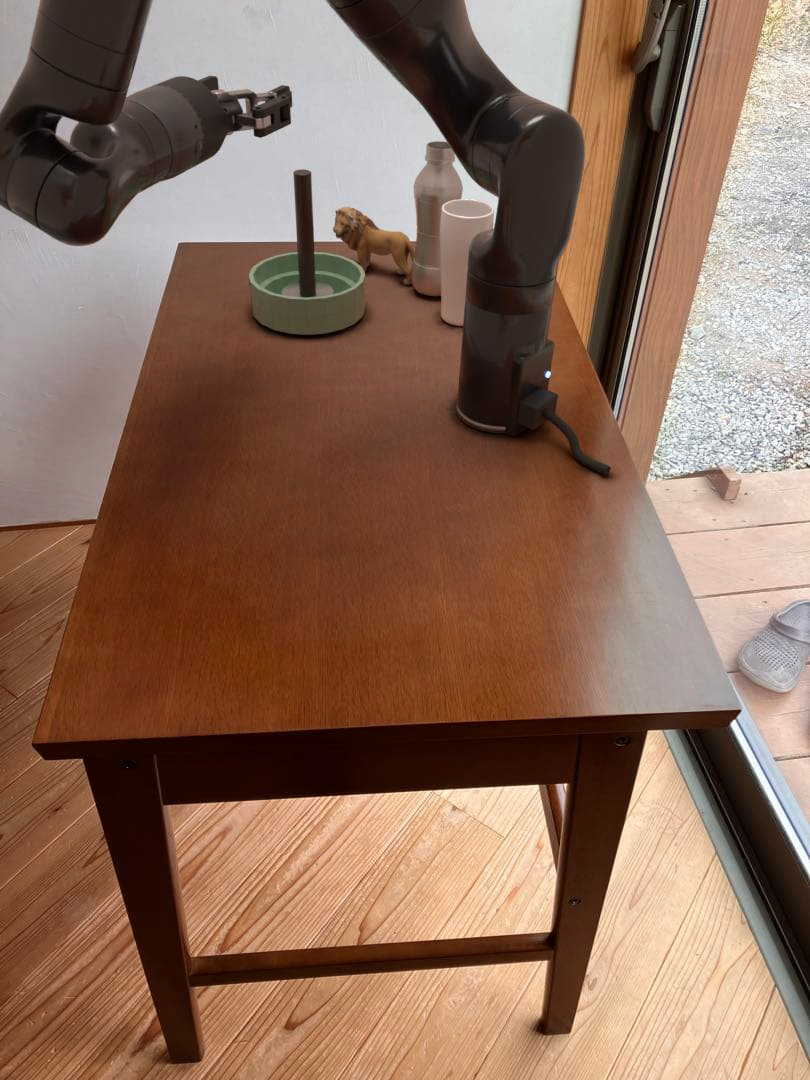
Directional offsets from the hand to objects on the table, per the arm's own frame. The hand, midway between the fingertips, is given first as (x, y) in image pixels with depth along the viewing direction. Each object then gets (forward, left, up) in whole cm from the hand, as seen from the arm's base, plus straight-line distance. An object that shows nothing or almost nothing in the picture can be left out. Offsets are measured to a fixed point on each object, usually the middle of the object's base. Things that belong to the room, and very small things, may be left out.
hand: (250, 91), depth 93 cm
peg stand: (+4, -10, -29) cm, 31 cm away
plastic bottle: (-4, -27, -30) cm, 41 cm away
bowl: (+4, -10, -30) cm, 32 cm away
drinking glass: (-12, -23, -30) cm, 40 cm away
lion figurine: (+6, -26, -30) cm, 41 cm away
